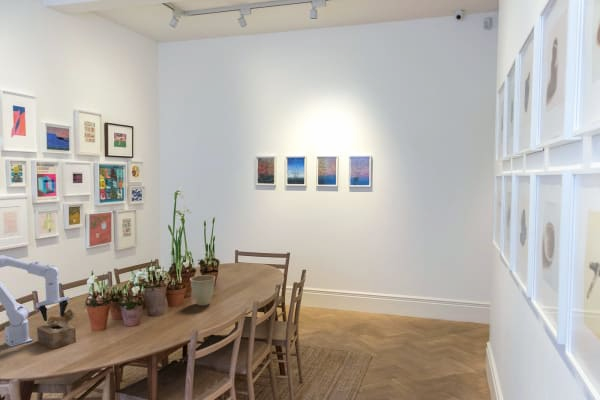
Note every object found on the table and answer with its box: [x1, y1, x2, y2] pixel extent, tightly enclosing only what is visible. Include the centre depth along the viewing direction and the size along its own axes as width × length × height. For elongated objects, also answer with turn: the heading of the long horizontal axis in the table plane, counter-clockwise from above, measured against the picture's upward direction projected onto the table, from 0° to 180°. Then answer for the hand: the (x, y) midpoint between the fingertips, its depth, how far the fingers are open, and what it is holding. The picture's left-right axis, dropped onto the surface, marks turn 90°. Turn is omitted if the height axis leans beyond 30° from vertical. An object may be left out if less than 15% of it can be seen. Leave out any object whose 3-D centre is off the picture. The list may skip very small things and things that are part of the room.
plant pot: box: [189, 274, 216, 306], centre depth 268 cm, size 15×15×16 cm
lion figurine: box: [46, 308, 76, 324], centre depth 231 cm, size 15×5×9 cm, turn 120°
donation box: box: [36, 321, 77, 350], centre depth 211 cm, size 11×16×7 cm
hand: (53, 318), depth 216 cm, fingers open, 7 cm apart
